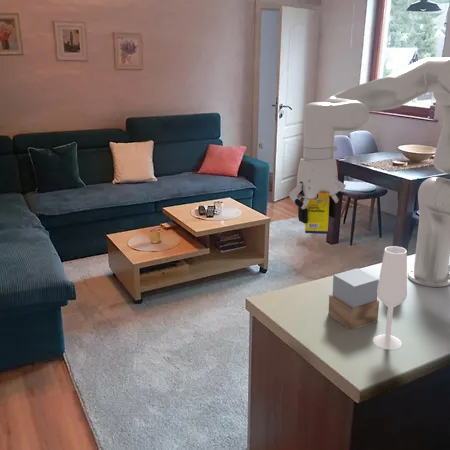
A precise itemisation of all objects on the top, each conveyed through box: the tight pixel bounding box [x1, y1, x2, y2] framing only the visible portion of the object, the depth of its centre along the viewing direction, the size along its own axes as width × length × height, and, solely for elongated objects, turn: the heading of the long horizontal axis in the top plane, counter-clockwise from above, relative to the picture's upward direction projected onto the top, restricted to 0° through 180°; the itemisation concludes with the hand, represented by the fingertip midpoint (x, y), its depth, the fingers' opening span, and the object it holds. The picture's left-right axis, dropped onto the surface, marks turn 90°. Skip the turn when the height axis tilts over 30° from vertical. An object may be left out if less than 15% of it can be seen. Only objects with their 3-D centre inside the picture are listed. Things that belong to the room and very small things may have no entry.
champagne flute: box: [372, 245, 408, 351], centre depth 115 cm, size 7×7×24 cm
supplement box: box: [304, 191, 330, 235], centre depth 128 cm, size 6×6×11 cm
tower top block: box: [332, 268, 379, 308], centre depth 127 cm, size 8×8×6 cm
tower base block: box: [328, 293, 380, 330], centre depth 129 cm, size 9×9×6 cm
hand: (317, 218), depth 128 cm, fingers closed on supplement box, 8 cm apart
